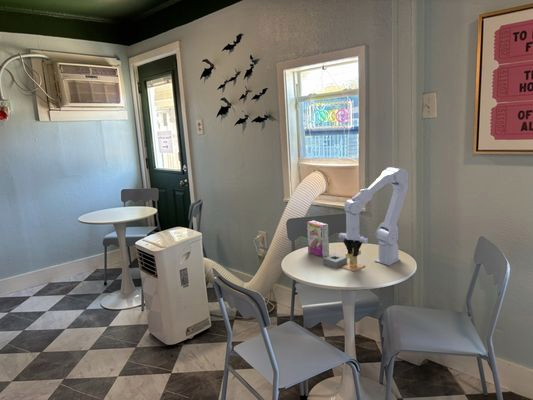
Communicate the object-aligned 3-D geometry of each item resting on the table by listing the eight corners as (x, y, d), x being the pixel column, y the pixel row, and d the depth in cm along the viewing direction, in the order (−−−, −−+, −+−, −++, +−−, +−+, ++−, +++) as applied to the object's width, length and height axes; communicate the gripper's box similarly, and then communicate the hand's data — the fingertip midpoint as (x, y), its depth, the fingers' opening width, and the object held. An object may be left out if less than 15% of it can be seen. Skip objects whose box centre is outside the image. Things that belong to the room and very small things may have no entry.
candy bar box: (307, 252, 201) (306, 221, 197) (314, 250, 203) (313, 220, 200) (322, 258, 192) (321, 226, 188) (329, 255, 194) (328, 224, 191)
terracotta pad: (352, 263, 183) (352, 262, 183) (365, 266, 177) (365, 265, 177) (341, 267, 178) (341, 266, 178) (354, 271, 172) (354, 270, 172)
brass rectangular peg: (356, 263, 181) (356, 248, 179) (360, 264, 179) (360, 250, 178) (345, 268, 176) (345, 253, 174) (350, 269, 174) (349, 254, 173)
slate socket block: (334, 259, 189) (333, 253, 188) (347, 263, 183) (347, 257, 182) (323, 264, 184) (322, 258, 183) (336, 268, 178) (336, 262, 177)
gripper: (334, 225, 177) (335, 254, 179) (360, 231, 166) (361, 261, 168) (344, 222, 181) (344, 250, 184) (370, 227, 170) (370, 257, 173)
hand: (353, 255), depth 176 cm, fingers closed on brass rectangular peg, 2 cm apart
